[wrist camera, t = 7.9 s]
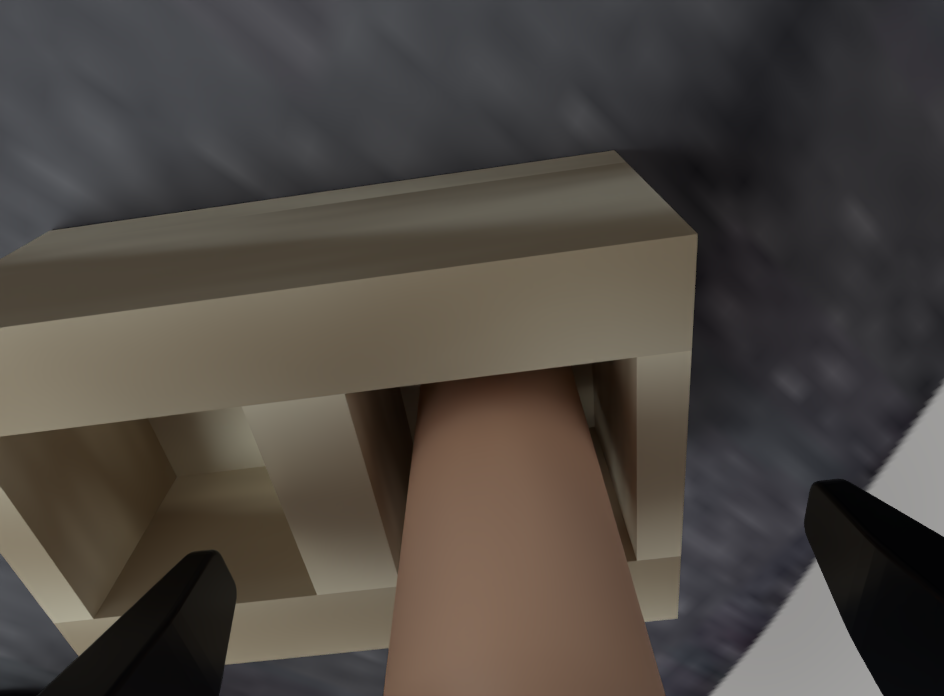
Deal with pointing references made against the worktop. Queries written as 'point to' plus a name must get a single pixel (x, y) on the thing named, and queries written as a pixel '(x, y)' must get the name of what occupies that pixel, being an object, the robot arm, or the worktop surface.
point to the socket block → (326, 385)
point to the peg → (512, 551)
